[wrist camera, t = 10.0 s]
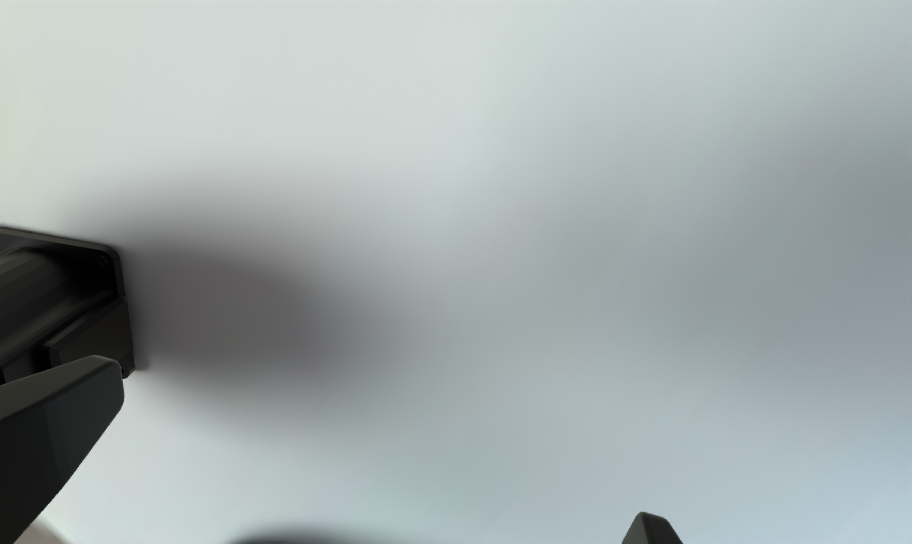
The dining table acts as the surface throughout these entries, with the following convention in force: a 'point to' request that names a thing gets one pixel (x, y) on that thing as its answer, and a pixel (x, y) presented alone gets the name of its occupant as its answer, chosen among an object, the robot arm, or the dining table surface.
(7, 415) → the robot arm
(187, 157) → the dining table surface
